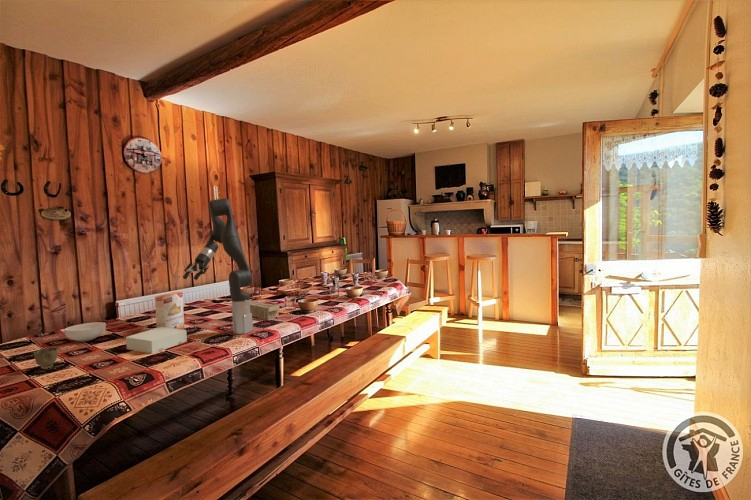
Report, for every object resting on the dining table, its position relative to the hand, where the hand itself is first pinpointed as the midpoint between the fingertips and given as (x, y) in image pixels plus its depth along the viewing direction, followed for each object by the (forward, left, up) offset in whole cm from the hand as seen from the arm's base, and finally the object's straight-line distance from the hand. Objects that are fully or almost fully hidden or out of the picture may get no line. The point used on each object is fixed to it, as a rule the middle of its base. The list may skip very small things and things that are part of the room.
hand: (189, 278), depth 206 cm
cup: (+5, +66, -28) cm, 72 cm away
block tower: (-23, -31, -28) cm, 48 cm away
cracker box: (+2, +12, -28) cm, 30 cm away
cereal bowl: (+34, +36, -28) cm, 57 cm away
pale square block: (-12, +30, -28) cm, 43 cm away
